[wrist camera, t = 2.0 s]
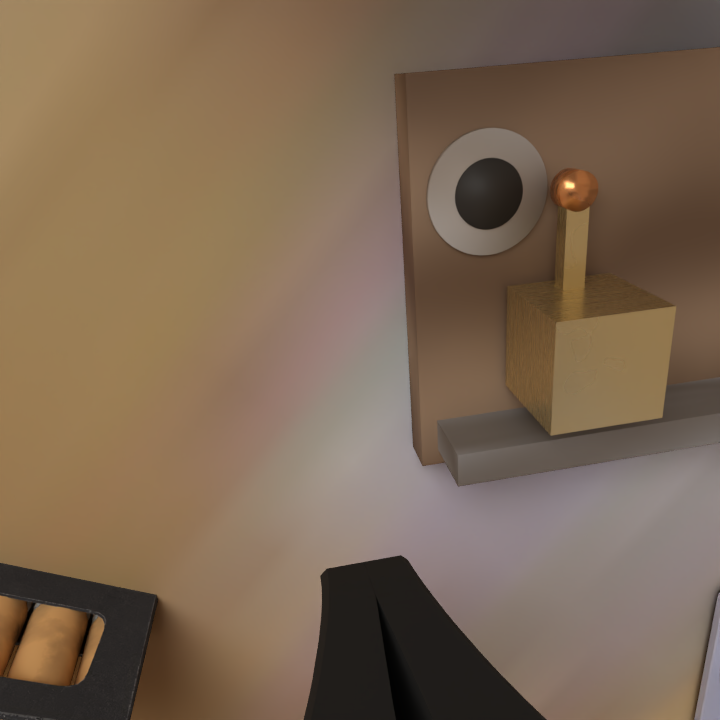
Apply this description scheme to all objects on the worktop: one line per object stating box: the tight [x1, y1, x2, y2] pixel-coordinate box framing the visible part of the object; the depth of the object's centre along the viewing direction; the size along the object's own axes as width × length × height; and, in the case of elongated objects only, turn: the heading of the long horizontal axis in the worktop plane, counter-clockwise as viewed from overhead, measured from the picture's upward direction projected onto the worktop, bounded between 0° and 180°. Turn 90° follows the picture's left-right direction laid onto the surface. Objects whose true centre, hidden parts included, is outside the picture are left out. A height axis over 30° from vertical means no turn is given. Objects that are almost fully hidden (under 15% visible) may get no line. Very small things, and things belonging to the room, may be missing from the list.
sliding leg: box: [506, 168, 676, 436], centre depth 16 cm, size 6×3×3 cm, turn 4°
